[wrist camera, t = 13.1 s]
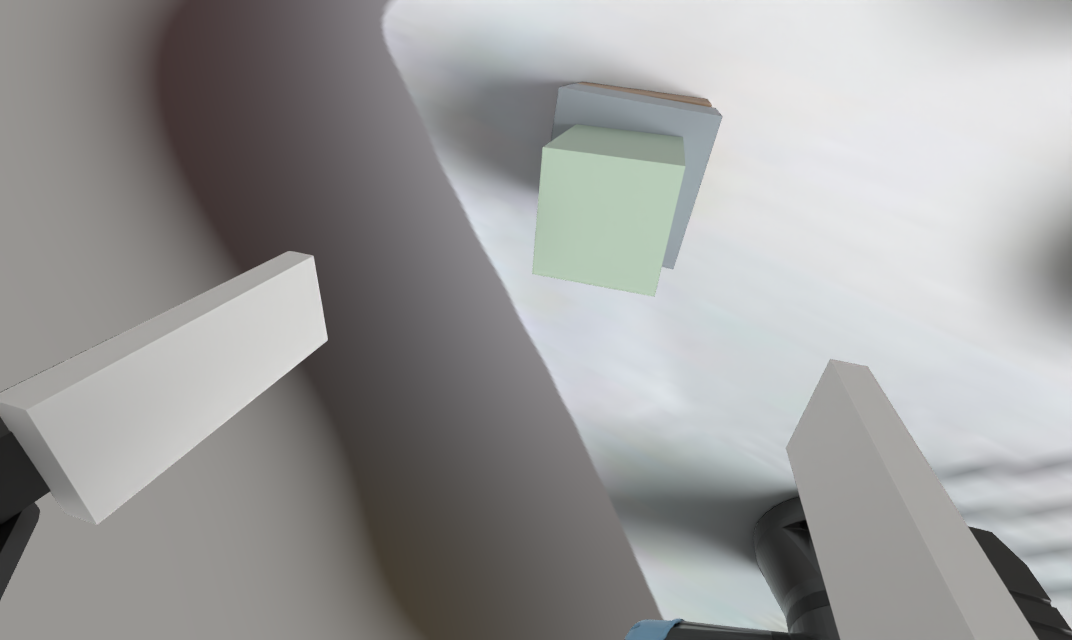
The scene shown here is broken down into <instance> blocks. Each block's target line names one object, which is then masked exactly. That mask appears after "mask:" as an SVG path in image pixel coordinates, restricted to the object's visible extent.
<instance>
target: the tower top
mask: <svg viewBox="0 0 1072 640" xmlns="http://www.w3.org/2000/svg"><path fill="white" fill-rule="evenodd" d="M721 119H722V115H721V114H720V113H719V112H718V110H717V109H716V108H713V107H707V106H701V105H695V104H690V103H684V102H678V101H673V100H667V99H661V98H656V97H650V96H644V95H639V94H633V93H627V92H622V91H616V90H610V89H605V88H599V87H593V86H588V85H582V84H576V83H574V84H570V85H566V86H562V87H559V90H558V97H557V103H556V110H555V117H554V124H553V130H552V137H551V141H552V140H554V139H555V138H557V137H558V136H560V135H561V134H563V133H564V132H566V131H567V130H569V129H570V128H572V127H573V126H575V125H576V124H579V125H587V126H595V127H603V128H611V129H619V130H628V131H636V132H644V133H652V134H660V135H668V136H677V137H683V142H684V154H685V171H684V175H683V179H682V183H681V187H680V192H679V196H678V200H677V204H676V209H675V213H674V217H673V221H672V225H671V230H670V234H669V238H668V242H667V246H666V251H665V255H664V259H663V263H662V267H666V268H670V269H673V268H674V265H675V262H676V259H677V256H678V253H679V250H680V247H681V243H682V240H683V237H684V234H685V231H686V228H687V225H688V222H689V219H690V216H691V212H692V209H693V206H694V203H695V200H696V197H697V194H698V191H699V188H700V185H701V181H702V178H703V175H704V172H705V169H706V166H707V163H708V160H709V157H710V154H711V150H712V147H713V144H714V141H715V138H716V135H717V132H718V129H719V126H720V123H721Z"/></svg>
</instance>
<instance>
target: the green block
mask: <svg viewBox="0 0 1072 640" xmlns="http://www.w3.org/2000/svg"><path fill="white" fill-rule="evenodd" d="M684 171H685V154H684V142H683V137H677V136H668V135H660V134H652V133H644V132H636V131H628V130H619V129H611V128H603V127H595V126H587V125H579V124H576V125H575V126H573V127H572V128H570V129H569V130H567V131H566V132H564V133H563V134H561V135H560V136H558V137H557V138H555V139H554V140H552V141H551V142H549V143H548V144H547V145H545V146H544V147H543V149H542V161H541V173H540V185H539V197H538V210H537V222H536V234H535V246H534V258H533V270H532V274H535V275H541V276H546V277H551V278H557V279H562V280H568V281H573V282H578V283H584V284H589V285H595V286H600V287H605V288H611V289H616V290H622V291H627V292H632V293H638V294H643V295H649V296H654V297H655V293H656V288H657V284H658V280H659V276H660V272H661V267H662V263H663V259H664V255H665V251H666V246H667V242H668V238H669V234H670V230H671V225H672V221H673V217H674V213H675V209H676V204H677V200H678V196H679V192H680V187H681V183H682V179H683V175H684Z"/></svg>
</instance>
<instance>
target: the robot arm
mask: <svg viewBox="0 0 1072 640" xmlns="http://www.w3.org/2000/svg"><path fill="white" fill-rule="evenodd" d="M327 340H328V339H327V333H326V327H325V321H324V315H323V309H322V303H321V297H320V292H319V286H318V280H317V274H316V268H315V262H314V257H313V256H312V255H307V254H302V253H297V252H292V251H288V252H286V253H284V254H282V255H280V256H278V257H276V258H274V259H271V260H269V261H267V262H265V263H263V264H261V265H259V266H257V267H255V268H253V269H251V270H250V271H247V272H245V273H243V274H241V275H239V276H237V277H235V278H233V279H231V280H229V281H227V282H225V283H223V284H221V285H219V286H217V287H215V288H213V289H210V290H208V291H206V292H204V293H202V294H200V295H198V296H196V297H194V298H192V299H190V300H188V301H186V302H184V303H182V304H180V305H178V306H176V307H174V308H172V309H170V310H168V311H166V312H164V313H162V314H159V315H157V316H156V317H153V318H151V319H149V320H147V321H145V322H143V323H141V324H139V325H137V326H135V327H133V328H131V329H129V330H127V331H125V332H123V333H121V334H118V335H116V336H114V337H112V338H110V339H108V340H106V341H104V342H102V343H100V344H98V345H96V346H94V347H92V348H90V349H88V350H85V351H83V352H81V353H79V354H77V355H75V356H74V357H71V358H70V359H68V360H66V361H63V362H61V363H59V364H57V365H55V366H53V367H51V368H49V369H47V370H45V371H43V372H41V373H39V374H36V375H34V376H33V377H31V378H28V379H27V380H24V381H22V382H20V383H18V384H16V385H14V386H12V387H10V388H8V389H6V390H4V391H2V392H0V600H1V597H2V595H3V593H4V591H5V589H6V587H7V585H8V583H9V580H10V579H11V576H12V574H13V572H14V570H15V568H16V566H17V564H18V562H19V559H20V557H21V555H22V553H23V551H24V549H25V547H26V545H27V543H28V541H29V539H30V536H31V534H32V532H33V530H34V528H35V526H36V523H37V522H38V519H39V513H40V510H39V508H38V507H37V505H36V504H35V501H37V500H38V499H39V498H41V497H42V496H44V495H45V494H47V493H48V492H51V493H52V495H53V496H54V498H55V499H56V501H57V503H58V504H59V506H60V507H61V509H62V510H63V512H64V513H65V514H68V515H71V516H74V517H77V518H80V519H83V520H85V521H88V522H91V523H94V524H97V525H98V524H99V523H100V522H101V521H103V520H104V519H105V518H106V517H108V516H109V515H110V514H111V513H113V512H114V511H115V510H116V509H118V508H119V507H120V506H121V505H122V504H124V503H125V502H126V501H128V500H129V499H130V498H131V497H133V496H134V495H135V494H136V493H137V492H139V491H140V490H141V489H142V488H144V487H145V486H146V485H148V484H149V483H150V482H151V481H152V480H154V479H155V478H156V477H157V476H158V475H160V474H161V473H162V472H164V471H165V470H166V469H167V468H169V467H170V466H171V465H172V464H174V463H175V462H176V461H177V460H179V459H180V458H181V457H182V456H184V455H185V454H186V453H187V452H189V451H190V450H191V449H192V448H194V447H195V446H196V445H197V444H199V443H200V442H201V441H202V440H204V439H205V438H206V437H207V436H209V435H210V434H211V433H212V432H214V431H215V430H216V429H217V428H219V427H220V426H221V425H222V424H224V423H225V422H226V421H227V420H229V419H230V418H231V417H232V416H234V415H235V414H236V413H237V412H238V411H240V410H241V409H242V408H244V407H245V406H246V405H247V404H249V403H250V402H251V401H252V400H253V399H255V398H256V397H257V396H259V395H260V394H261V393H262V392H263V391H265V390H266V389H267V388H269V387H270V386H271V385H272V384H274V383H275V382H276V381H277V380H279V378H281V377H282V376H284V375H285V374H286V373H287V372H289V371H290V370H291V369H292V368H293V367H295V366H296V365H297V364H299V363H300V362H301V361H302V360H304V359H305V358H306V357H307V356H308V355H310V354H311V353H312V352H314V351H315V350H316V349H317V348H318V347H320V346H321V345H322V344H323V343H324V342H326V341H327ZM786 450H787V453H788V457H789V460H790V464H791V468H792V471H793V475H794V478H795V482H796V485H797V489H798V492H799V496H800V497H798V498H795V499H792V500H789V501H786V502H784V503H782V504H779V505H778V506H776V507H774V508H773V509H771V510H770V511H768V512H767V513H766V514H765V515H764V516H763V517H762V518H761V519H760V521H759V522H758V524H757V526H756V528H755V531H754V537H753V540H754V547H755V554H756V559H757V563H758V566H759V568H760V570H761V572H762V574H763V576H764V577H765V579H766V581H767V583H768V585H769V587H770V589H771V591H772V593H773V595H774V597H775V599H776V600H777V602H778V604H779V606H780V608H781V610H782V611H783V613H784V615H785V617H786V622H787V627H788V632H789V633H785V632H775V631H768V630H758V629H748V628H738V627H729V626H721V625H712V624H704V623H695V622H687V621H684V620H683V619H674V620H672V621H666V620H642V621H640V622H638V623H636V624H635V625H634V626H633V627H632V628H631V629H630V631H629V633H628V634H627V635H626V637H625V639H624V640H1072V630H1071V628H1070V627H1069V626H1068V624H1067V623H1066V621H1065V620H1064V618H1063V617H1062V616H1061V614H1060V613H1059V611H1058V610H1057V608H1054V607H1051V604H1050V602H1051V600H1050V598H1049V597H1048V595H1047V594H1046V592H1045V591H1044V590H1043V588H1042V587H1041V585H1040V584H1039V582H1038V581H1037V580H1036V578H1035V577H1034V575H1033V574H1032V572H1031V571H1030V569H1029V568H1028V567H1027V565H1026V564H1025V563H1024V562H1023V561H1022V560H1021V559H1019V558H1018V557H1017V556H1016V555H1015V554H1014V553H1013V552H1012V551H1011V550H1010V549H1009V548H1008V547H1007V546H1006V545H1005V544H1004V543H1002V542H1001V541H1000V540H999V539H998V538H997V537H996V536H995V535H994V534H993V533H992V532H989V531H985V530H981V529H977V528H973V527H969V526H967V524H966V523H965V521H964V519H963V518H962V516H961V515H960V513H959V511H958V510H957V508H956V507H955V505H954V503H953V502H952V500H951V499H950V497H949V495H948V494H947V492H946V491H945V489H944V487H943V486H942V484H941V483H940V481H939V479H938V478H937V476H936V475H935V473H934V472H933V470H932V468H931V467H930V465H929V464H928V462H927V460H926V459H925V457H924V456H923V454H922V452H921V451H920V449H919V448H918V446H917V444H916V443H915V441H914V440H913V438H912V436H911V435H910V433H909V432H908V430H907V428H906V427H905V425H904V424H903V422H902V420H901V419H900V417H899V416H898V414H897V412H896V411H895V409H894V408H893V406H892V404H891V403H890V401H889V400H888V398H887V396H886V395H885V393H884V392H883V390H882V389H881V387H880V385H879V384H878V382H877V381H876V379H875V377H874V376H873V374H872V373H871V371H870V369H869V368H868V367H867V366H862V365H857V364H852V363H847V362H842V361H837V360H832V359H830V360H829V362H828V365H827V367H826V369H825V371H824V373H823V375H822V377H821V379H820V381H819V383H818V385H817V387H816V389H815V391H814V393H813V395H812V397H811V399H810V401H809V403H808V405H807V407H806V409H805V411H804V413H803V415H802V417H801V419H800V421H799V423H798V425H797V427H796V429H795V431H794V433H793V435H792V437H791V439H790V441H789V443H788V445H787V447H786Z"/></svg>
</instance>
